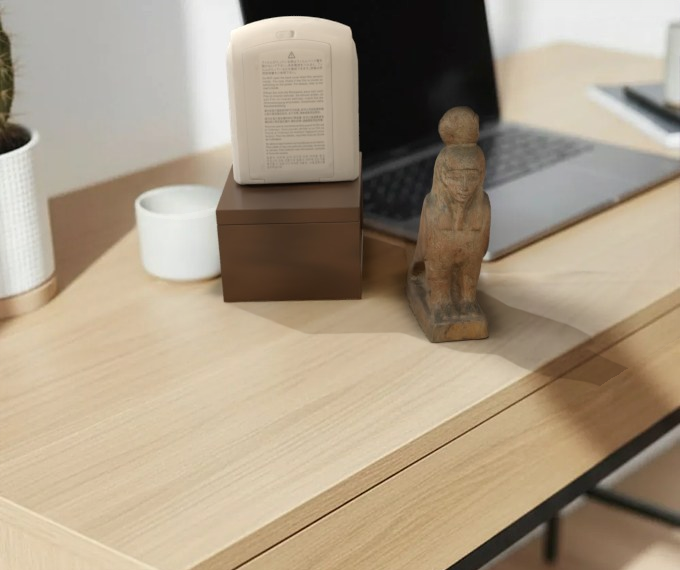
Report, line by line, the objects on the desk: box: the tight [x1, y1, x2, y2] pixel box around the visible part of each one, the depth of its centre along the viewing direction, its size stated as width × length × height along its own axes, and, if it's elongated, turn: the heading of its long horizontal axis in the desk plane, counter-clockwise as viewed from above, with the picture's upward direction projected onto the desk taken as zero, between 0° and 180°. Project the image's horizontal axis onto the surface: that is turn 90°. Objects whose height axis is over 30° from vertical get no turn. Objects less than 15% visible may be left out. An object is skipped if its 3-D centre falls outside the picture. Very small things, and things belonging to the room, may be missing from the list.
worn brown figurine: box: [404, 105, 492, 343], centre depth 88 cm, size 12×6×18 cm, turn 2°
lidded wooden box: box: [215, 151, 365, 303], centre depth 100 cm, size 11×15×8 cm
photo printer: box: [225, 15, 360, 185], centre depth 94 cm, size 10×4×12 cm, turn 93°
